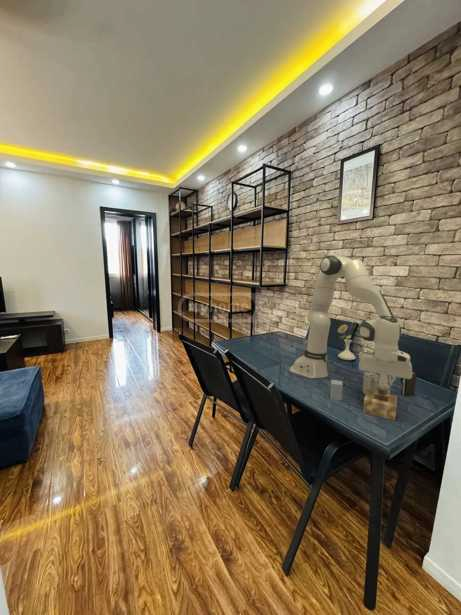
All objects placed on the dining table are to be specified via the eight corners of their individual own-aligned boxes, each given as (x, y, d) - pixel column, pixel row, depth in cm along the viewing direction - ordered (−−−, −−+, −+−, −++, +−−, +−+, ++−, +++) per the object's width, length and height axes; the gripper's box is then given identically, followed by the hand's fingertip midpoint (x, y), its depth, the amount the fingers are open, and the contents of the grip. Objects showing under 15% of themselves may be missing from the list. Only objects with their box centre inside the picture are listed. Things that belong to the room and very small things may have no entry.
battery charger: (408, 391, 134) (410, 370, 132) (415, 394, 130) (417, 373, 129) (397, 392, 132) (399, 371, 130) (404, 396, 128) (406, 374, 127)
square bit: (330, 399, 125) (331, 383, 124) (330, 394, 130) (331, 379, 129) (341, 400, 124) (342, 385, 122) (340, 396, 128) (341, 381, 127)
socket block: (363, 412, 114) (364, 399, 113) (366, 400, 124) (367, 389, 123) (395, 420, 107) (396, 407, 106) (395, 408, 117) (397, 396, 116)
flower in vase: (351, 356, 188) (354, 323, 185) (357, 362, 177) (360, 326, 173) (333, 355, 189) (335, 322, 186) (338, 361, 178) (340, 326, 175)
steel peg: (376, 393, 114) (378, 371, 112) (377, 389, 117) (379, 368, 115) (387, 395, 111) (389, 373, 110) (387, 392, 115) (389, 370, 113)
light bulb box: (381, 391, 134) (383, 371, 132) (390, 397, 127) (392, 377, 125) (361, 391, 133) (363, 371, 132) (369, 397, 127) (370, 377, 125)
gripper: (358, 351, 115) (356, 380, 117) (414, 359, 104) (411, 391, 106) (360, 347, 120) (358, 375, 122) (413, 355, 109) (410, 386, 111)
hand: (383, 383), depth 114 cm, fingers closed on steel peg, 4 cm apart
